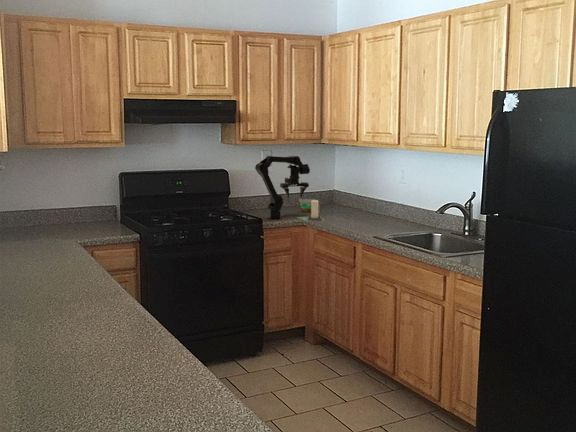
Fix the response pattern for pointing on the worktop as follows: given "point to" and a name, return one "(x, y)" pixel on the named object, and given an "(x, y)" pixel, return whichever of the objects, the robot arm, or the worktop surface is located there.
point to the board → (310, 218)
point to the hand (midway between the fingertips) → (294, 197)
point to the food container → (305, 205)
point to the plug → (314, 209)
